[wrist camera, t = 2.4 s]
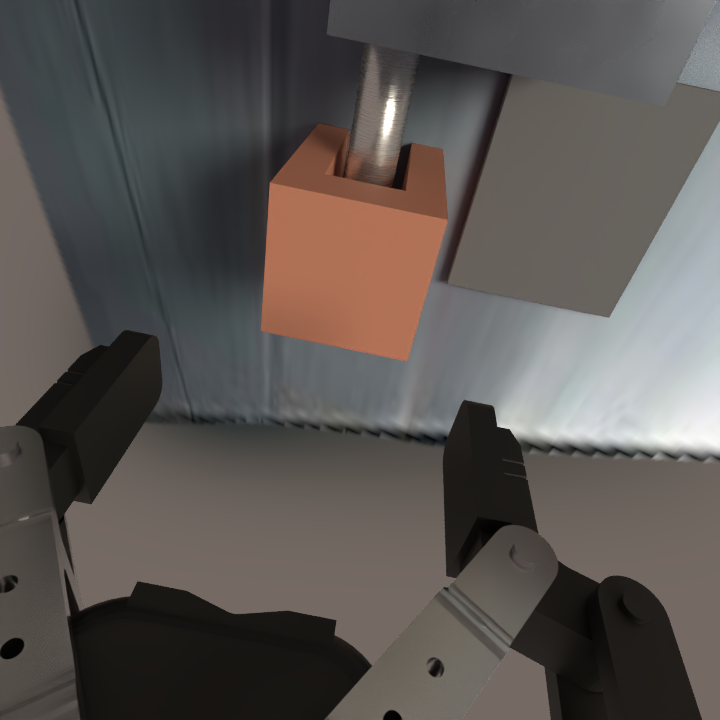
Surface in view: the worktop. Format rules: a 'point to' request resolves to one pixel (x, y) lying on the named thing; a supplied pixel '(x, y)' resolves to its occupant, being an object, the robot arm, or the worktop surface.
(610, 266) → the mat
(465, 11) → the vise block
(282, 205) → the notched orange block
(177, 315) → the worktop surface
